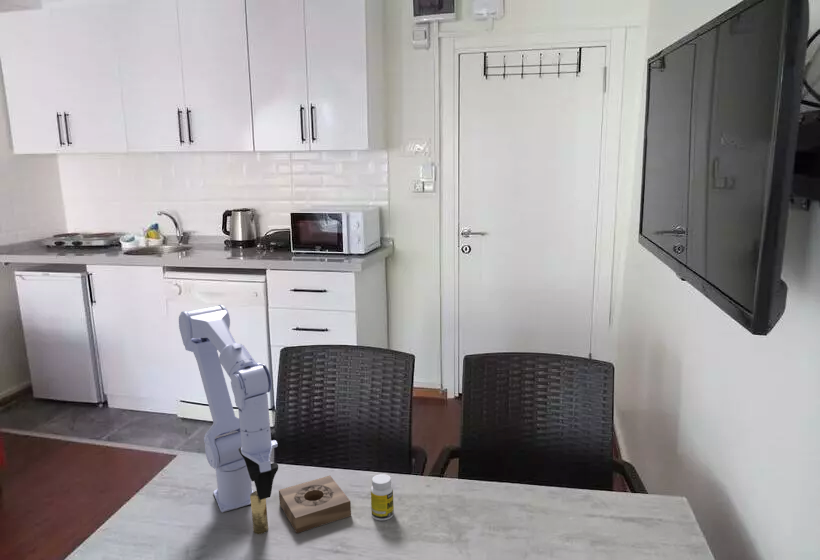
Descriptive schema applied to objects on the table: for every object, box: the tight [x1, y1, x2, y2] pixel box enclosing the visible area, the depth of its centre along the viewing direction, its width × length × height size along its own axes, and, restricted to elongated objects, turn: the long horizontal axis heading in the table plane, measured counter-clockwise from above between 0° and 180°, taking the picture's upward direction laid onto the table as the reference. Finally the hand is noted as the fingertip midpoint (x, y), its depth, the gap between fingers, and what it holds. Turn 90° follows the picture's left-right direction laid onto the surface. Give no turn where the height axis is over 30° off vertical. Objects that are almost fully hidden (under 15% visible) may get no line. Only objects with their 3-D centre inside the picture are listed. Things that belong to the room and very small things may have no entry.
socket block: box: [278, 475, 352, 534], centre depth 130 cm, size 12×12×4 cm
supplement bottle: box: [370, 473, 394, 522], centre depth 127 cm, size 5×5×8 cm
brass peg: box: [250, 490, 269, 535], centre depth 123 cm, size 3×3×8 cm
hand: (260, 488), depth 121 cm, fingers open, 7 cm apart
